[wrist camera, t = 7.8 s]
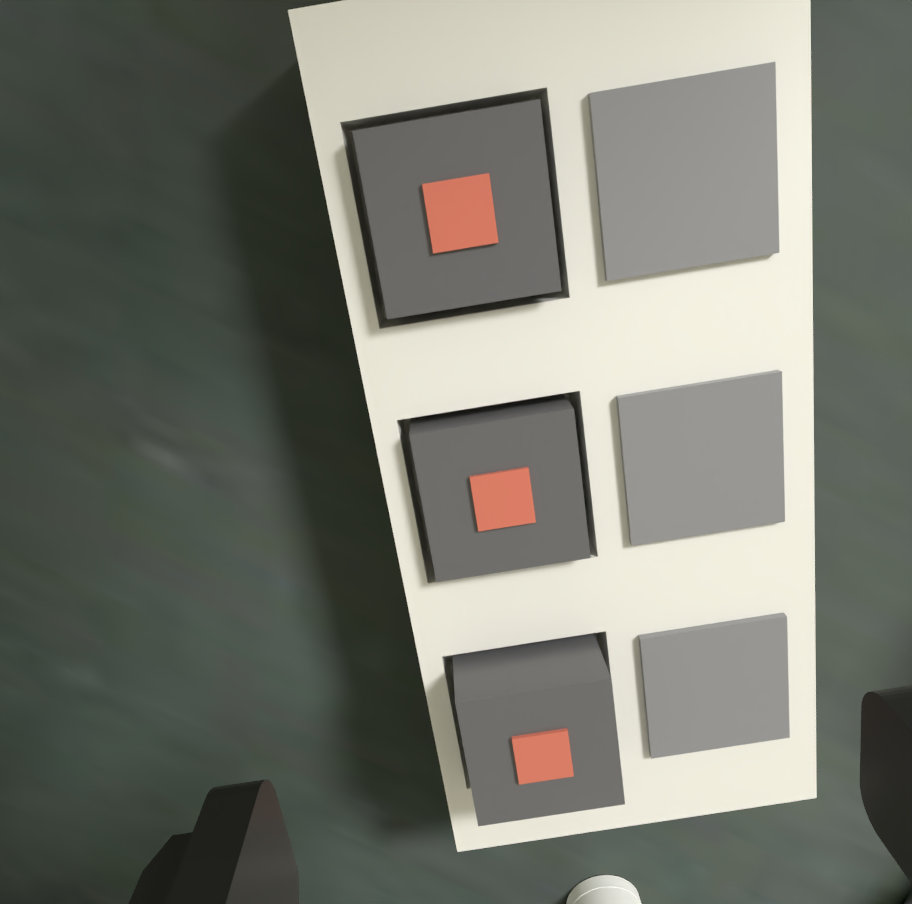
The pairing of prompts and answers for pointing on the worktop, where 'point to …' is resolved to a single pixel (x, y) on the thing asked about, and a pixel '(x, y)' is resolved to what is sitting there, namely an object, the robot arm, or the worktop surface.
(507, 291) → the button near
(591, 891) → the white stemmed cylinder
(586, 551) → the button middle
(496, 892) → the worktop surface
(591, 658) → the button far
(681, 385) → the power strip
